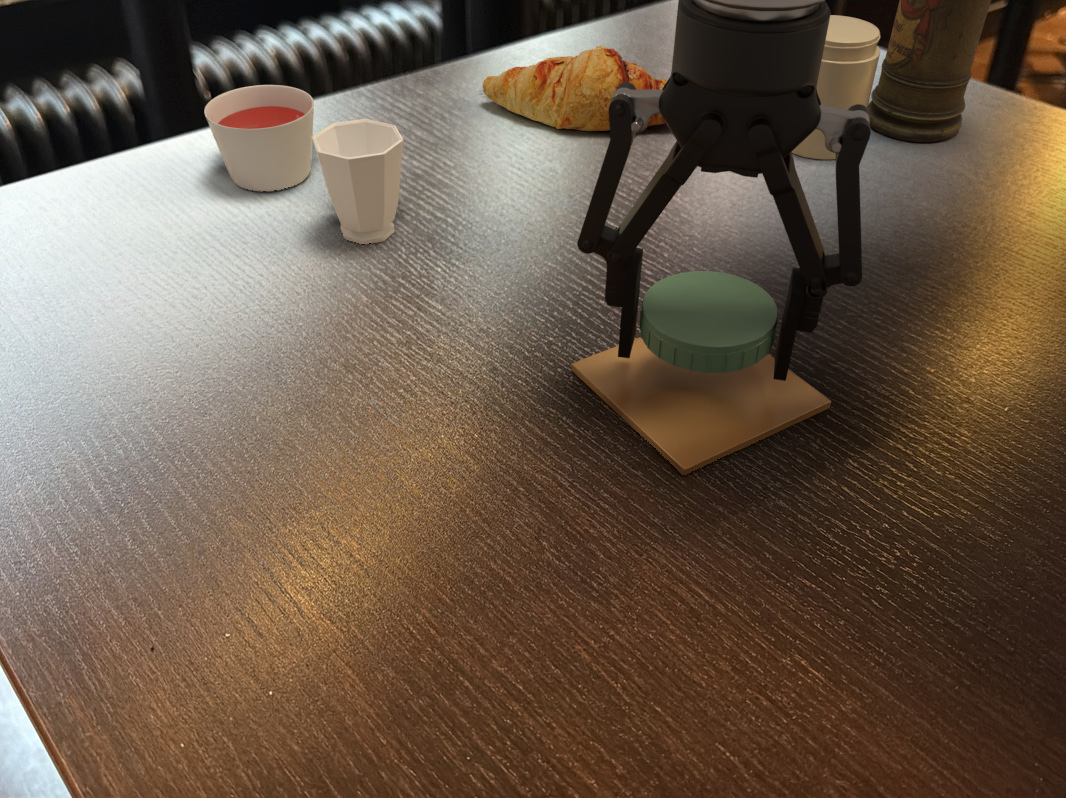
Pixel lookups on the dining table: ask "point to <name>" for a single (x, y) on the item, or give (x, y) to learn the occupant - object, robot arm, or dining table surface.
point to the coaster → (697, 403)
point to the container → (927, 69)
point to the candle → (263, 135)
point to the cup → (362, 176)
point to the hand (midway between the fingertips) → (702, 355)
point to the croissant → (570, 89)
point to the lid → (708, 321)
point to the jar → (843, 74)
